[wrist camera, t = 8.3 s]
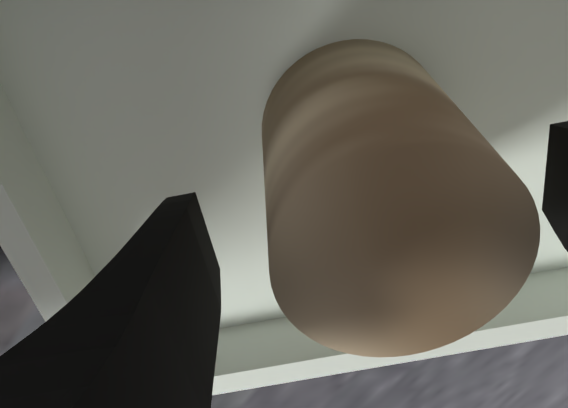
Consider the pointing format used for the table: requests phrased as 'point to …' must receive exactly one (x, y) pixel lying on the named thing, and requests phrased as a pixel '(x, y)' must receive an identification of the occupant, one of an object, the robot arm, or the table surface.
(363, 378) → the table surface
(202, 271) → the robot arm
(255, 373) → the tray
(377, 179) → the beige rounded cylinder
